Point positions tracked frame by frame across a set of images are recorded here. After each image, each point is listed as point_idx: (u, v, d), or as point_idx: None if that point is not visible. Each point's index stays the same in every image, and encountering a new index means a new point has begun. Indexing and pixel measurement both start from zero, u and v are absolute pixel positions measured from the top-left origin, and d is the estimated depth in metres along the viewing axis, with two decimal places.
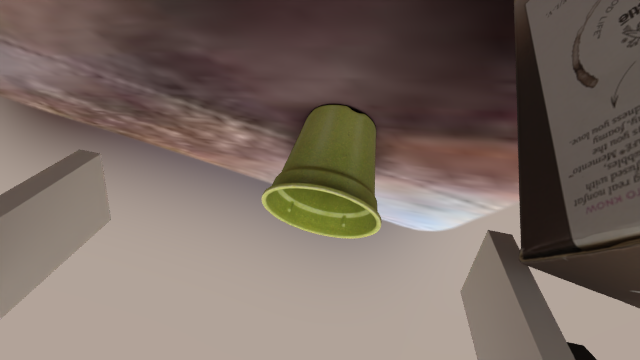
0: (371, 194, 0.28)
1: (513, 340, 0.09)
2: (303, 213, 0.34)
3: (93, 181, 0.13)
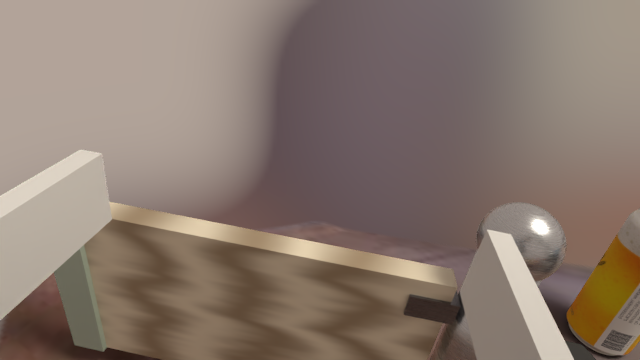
0: None
1: (512, 339, 0.09)
2: None
3: (94, 181, 0.13)
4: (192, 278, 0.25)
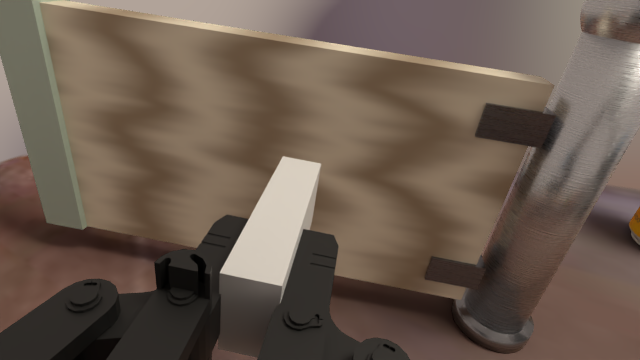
0: None
1: None
2: None
3: None
4: (193, 103, 0.19)
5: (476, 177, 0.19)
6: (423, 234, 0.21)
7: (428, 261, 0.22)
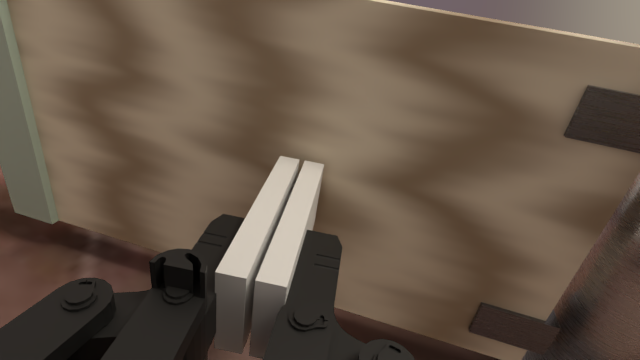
0: None
1: None
2: None
3: (294, 183, 0.14)
4: (173, 73, 0.15)
5: (559, 198, 0.13)
6: (471, 271, 0.15)
7: (476, 308, 0.16)
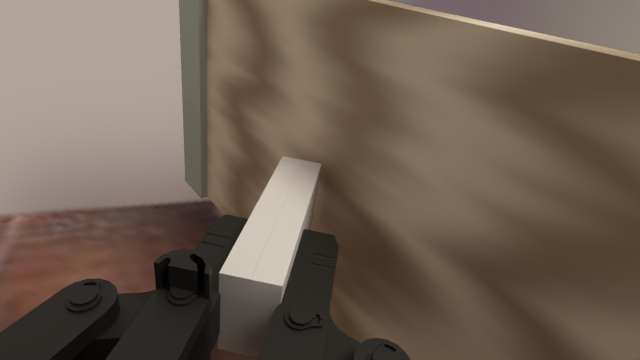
0: None
1: None
2: None
3: None
4: (289, 86, 0.15)
5: None
6: None
7: None
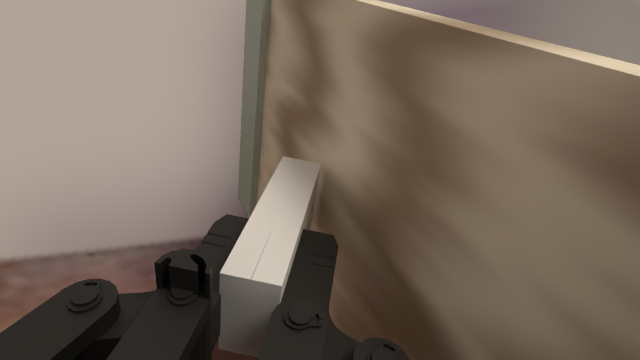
0: None
1: None
2: None
3: None
4: (339, 116, 0.13)
5: None
6: None
7: None
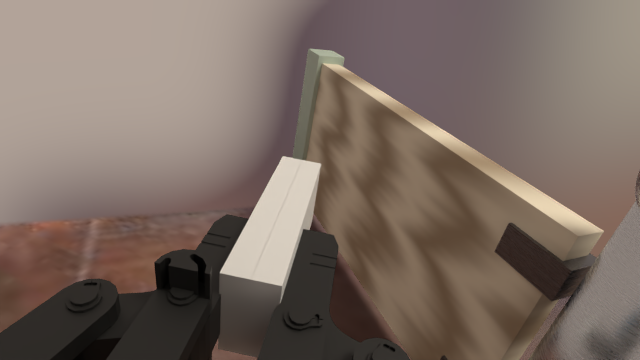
0: None
1: None
2: None
3: None
4: (353, 139, 0.28)
5: (492, 296, 0.18)
6: (442, 326, 0.21)
7: (440, 358, 0.21)
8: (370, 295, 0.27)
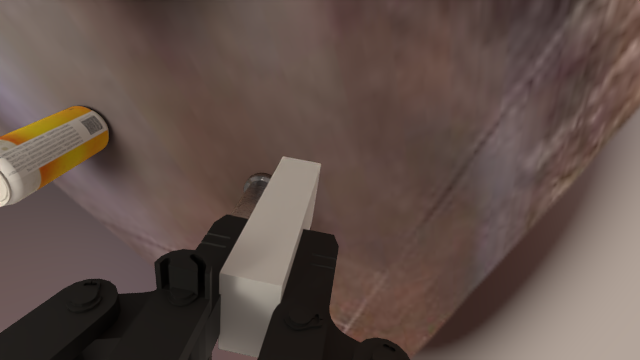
0: None
1: None
2: None
3: None
4: None
5: None
6: None
7: None
8: None
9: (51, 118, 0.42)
